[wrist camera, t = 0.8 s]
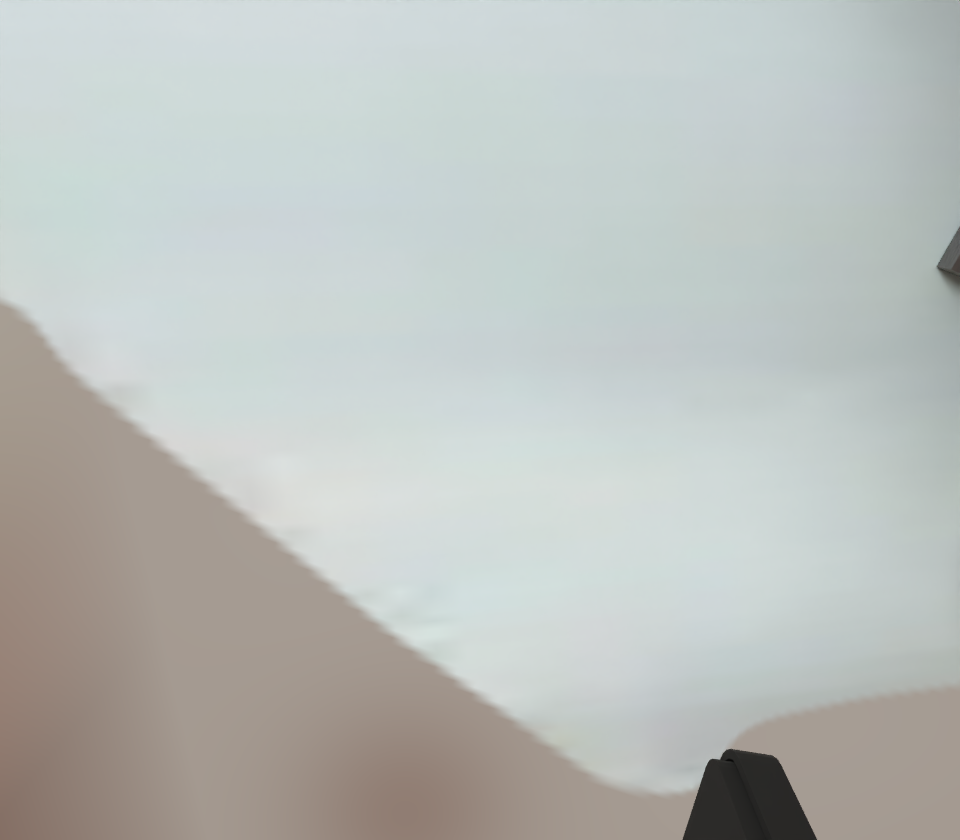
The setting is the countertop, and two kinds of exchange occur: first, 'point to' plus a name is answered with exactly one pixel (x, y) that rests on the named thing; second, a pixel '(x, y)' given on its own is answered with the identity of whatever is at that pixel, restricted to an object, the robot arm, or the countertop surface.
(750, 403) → the countertop surface
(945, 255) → the pivot stand
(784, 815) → the robot arm
